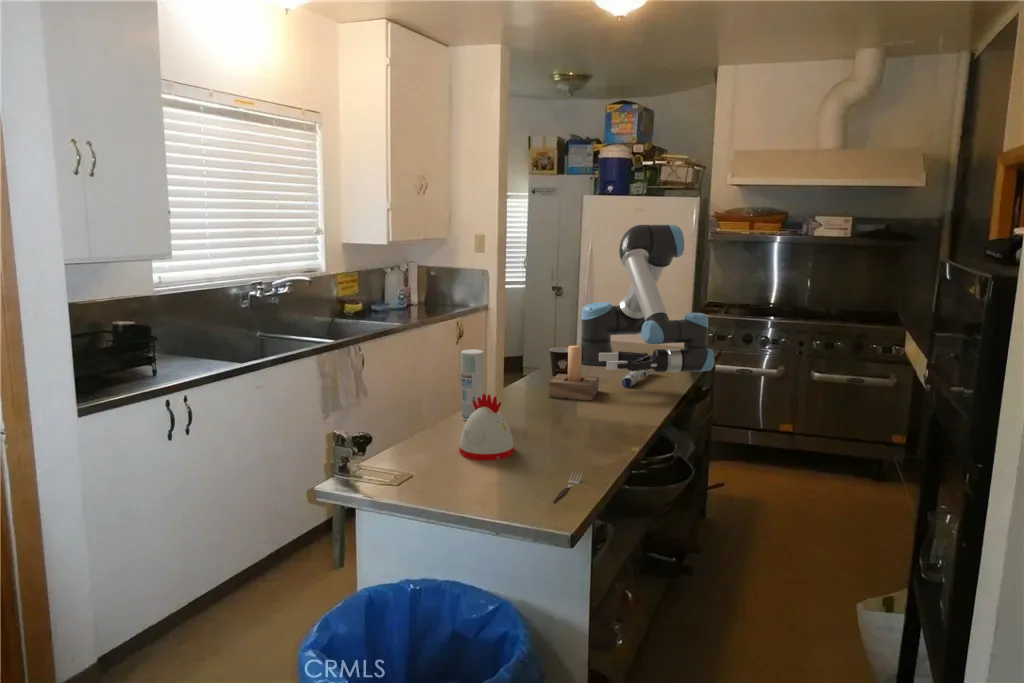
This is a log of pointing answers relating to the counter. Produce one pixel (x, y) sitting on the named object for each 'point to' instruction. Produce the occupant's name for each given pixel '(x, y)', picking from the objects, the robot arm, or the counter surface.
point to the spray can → (471, 380)
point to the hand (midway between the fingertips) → (602, 361)
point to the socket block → (573, 387)
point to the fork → (567, 487)
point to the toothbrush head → (634, 377)
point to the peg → (574, 363)
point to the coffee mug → (559, 361)
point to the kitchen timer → (486, 432)
